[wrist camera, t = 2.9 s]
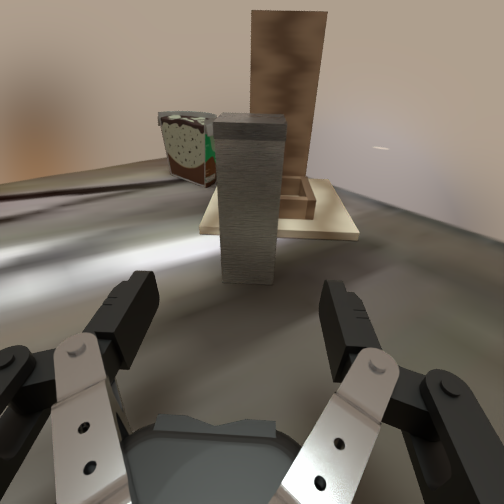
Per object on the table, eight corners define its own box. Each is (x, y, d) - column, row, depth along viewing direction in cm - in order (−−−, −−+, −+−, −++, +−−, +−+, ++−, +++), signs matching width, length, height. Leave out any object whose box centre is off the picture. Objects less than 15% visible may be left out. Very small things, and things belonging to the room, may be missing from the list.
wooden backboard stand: (199, 234, 31) (173, -23, 19) (221, 181, 45) (214, 19, 34) (357, 240, 30) (431, -19, 18) (327, 185, 45) (357, 22, 33)
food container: (238, 180, 46) (237, 116, 40) (211, 190, 42) (207, 120, 36) (192, 166, 52) (186, 109, 47) (165, 173, 49) (155, 111, 43)
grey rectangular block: (221, 282, 24) (212, 121, 16) (228, 253, 27) (222, 112, 20) (273, 285, 23) (287, 124, 16) (272, 255, 27) (283, 114, 20)
